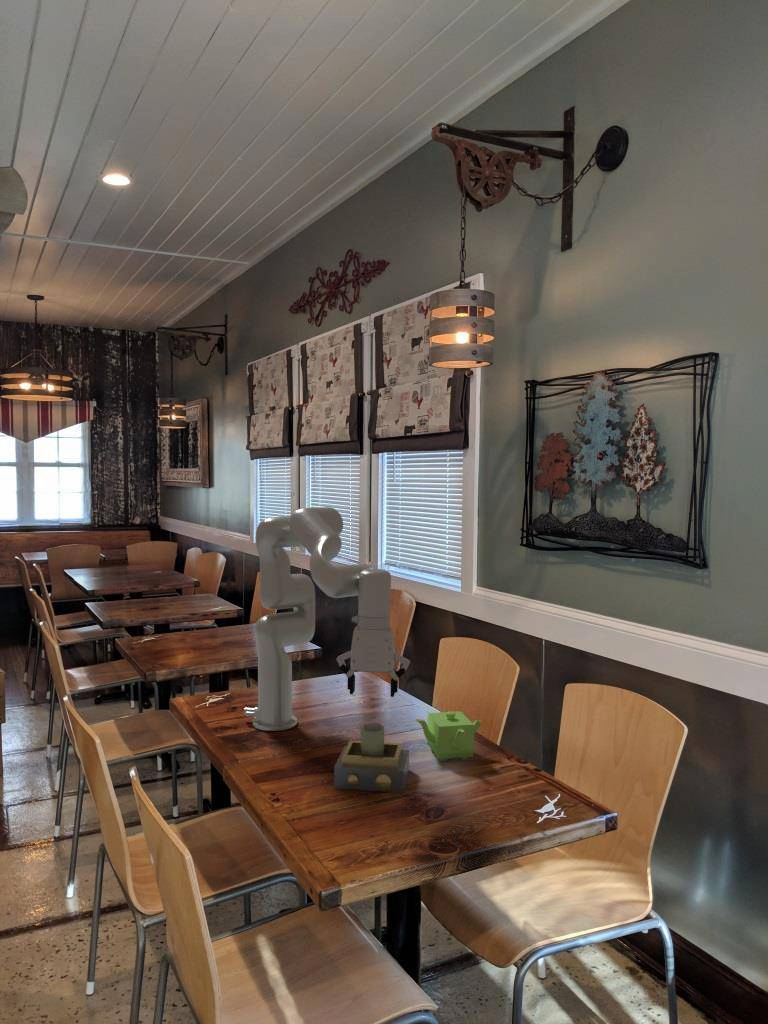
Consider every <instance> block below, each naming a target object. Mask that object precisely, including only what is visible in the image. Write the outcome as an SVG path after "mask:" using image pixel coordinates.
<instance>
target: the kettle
mask: <svg viewBox="0 0 768 1024" xmlns="http://www.w3.org/2000/svg"><path fill="white" fill-rule="evenodd" d="M414 721H415V722H417V723H419V724H420V726H421V727H422V730H423V734H424V737H425V738H426V739H425V740H427V745H428V747H429V748H430V749H431V751H432V754H434V755H435V756H436V758H437V760H438V762H441V763H445V762H448V759H458V760H460V761H467V760H468V759H469V758H473V757H474V752H475V750H474V746H475V745H474V742H475V741H474V740H475V739H474V738H475V734H476V732H478V730H479V728H480V726H481V725H482V723H483V722H482V721H481V720H479V719H475V720H473V722H472V721H471V720H470V719H469V718H468V717H467V716H466V714H464V713H463V712H462V711H457V710H456V711H452V710H451V711H442V712H428V713H427V722H426V721H425V720H424V719H423V718H422V719H421V718H419V719H417V718H416V719H414Z"/></svg>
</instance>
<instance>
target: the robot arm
mask: <svg viewBox="0 0 768 1024" xmlns="http://www.w3.org/2000/svg"><path fill="white" fill-rule="evenodd" d="M343 529H344V520H343V516H342V515H341V513H340V512H339V511H338V510H337V509H335V508H334V507H330V506H324V507H323V506H322V507H319V506H317V507H303V508H299V509H297V510H295V511H293V513H291V514H290V516H289V515H288V516H274V517H273V516H272V517H270V518H265V519H263V520H261V522H260V523H258V525H257V527H256V531H255V543H256V544H255V546H256V549H257V553H258V558H259V597H260V599H259V600H260V603H261V606H262V607H263V608H264V609H267V610H271V611H272V610H275V611H276V610H284V609H293V611H287V612H278V613H271V614H266V615H264V616H261V617H260V618H258V620H257V621H256V622H255V624H254V631H253V632H254V638H255V642H256V643H255V644H256V650H257V701H258V702H257V706H256V707H255V708H254V707H245V708H243V714H244V715H245V717H249V718H250V717H251V718H252V717H253V719H252V727H254V728H255V729H258V730H261V731H266V732H278V731H285V730H288V729H289V730H290V729H292V728H294V727H295V726H297V724H298V718H297V717H296V716H295V715H293V713H292V712H293V710H292V709H293V706H292V705H293V700H292V699H293V664H292V659H291V657H290V656H289V655H288V653H287V652H286V650H285V647H287V648H288V647H292V646H298V645H302V644H303V645H304V644H307V643H309V642H310V641H312V639H313V637H314V635H315V632H316V589H315V588H316V587H315V585H314V583H315V584H316V585H317V587H318V588H319V589H320V590H321V591H322V592H323V593H324V594H325V595H326V596H327V597H330V598H333V599H341V598H347V597H358V603H357V605H358V607H357V608H358V609H357V611H358V612H357V613H358V614H357V615H355V616H351V622H352V623H355V624H356V625H357V626H355V627H354V630H353V632H352V638H351V649H350V650H349V651H346V652H344V653H342V654H340V655H338V656H336V657H337V658H336V661H337V663H338V666H339V669H340V670H341V672H343V674H345V677H346V678H347V686H346V687H347V690H348V691H349V695H353V694H354V693H355V691H356V675H355V672H362V673H374V674H375V673H379V674H389V676H390V677H391V680H390V697H391V698H394V697H395V694H397V693H398V690H399V689H398V688H399V685H398V684H399V679H400V677H402V676H403V675H404V674H405V673H406V671H407V670H408V668H409V666H410V664H411V661H410V660H409V659H408V658H407V657H404V656H403V655H401V654H400V653H397V652H396V647H395V645H396V642H395V634H394V630H393V627H391V602H392V601H391V597H392V596H391V593H392V576H391V573H390V571H389V570H386V569H383V568H377V567H375V566H374V565H371V564H368V563H360V564H359V563H358V564H344V565H333V564H331V562H332V560H334V559H335V558H336V557H337V556H338V554H340V551H341V549H342V545H343V543H342V539H341V536H340V535H341V534H342V532H343ZM298 547H304V548H305V550H306V551H307V552H308V553H309V555H310V559H309V570H310V575H311V577H310V576H308V575H307V574H305V573H291V558H290V556H289V555H288V553H287V551H286V550H285V549H284V548H298ZM313 581H314V583H313ZM347 659H350V667H349V666H348V665H347V664H346V662H345V660H347ZM396 661H397V662H398V663H401V664H402V666H401V667H400V668H399V669H396V667H395V665H396Z"/></svg>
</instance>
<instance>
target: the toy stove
mask: <svg viewBox="0 0 768 1024" xmlns="http://www.w3.org/2000/svg"><path fill="white" fill-rule="evenodd" d="M403 746H404V745H403V743H397V742H395V743H393V742H384V757H373V756H361V740H349V741H348V743H347V745H344V746H343V748H342V750H341V751H340V754H339V756H338V758H337V759H336V760H337V761H336V763H335V764H334V766H333V787H334V788H333V789H339V790H356V791H368V792H370V791H371V792H385V793H388V792H389V793H398V794H403V793H404V792H405V788H406V785H407V779H408V775H409V772H410V750H409V749H403Z"/></svg>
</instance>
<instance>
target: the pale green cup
mask: <svg viewBox="0 0 768 1024" xmlns="http://www.w3.org/2000/svg"><path fill="white" fill-rule="evenodd" d="M360 741H361V756H373V757H384V743H385V727H384V726H383V725H382V724H379V723H373V722H372V723H366V724H364V725H361V727H360Z"/></svg>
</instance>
